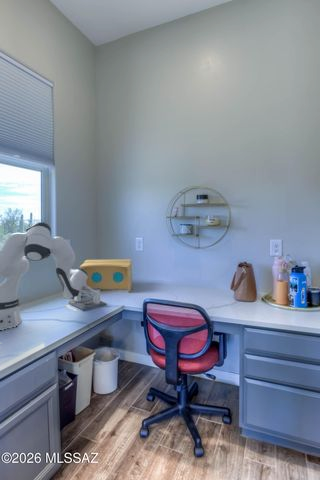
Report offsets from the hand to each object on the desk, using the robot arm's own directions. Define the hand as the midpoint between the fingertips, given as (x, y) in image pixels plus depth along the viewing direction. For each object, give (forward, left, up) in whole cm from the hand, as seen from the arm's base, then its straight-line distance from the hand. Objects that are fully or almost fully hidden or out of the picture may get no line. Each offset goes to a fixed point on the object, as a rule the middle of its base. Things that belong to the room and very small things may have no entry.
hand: (93, 296), depth 189 cm
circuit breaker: (+5, +30, -7) cm, 31 cm away
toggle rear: (-2, +14, -5) cm, 16 cm away
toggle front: (+3, -1, -5) cm, 6 cm away
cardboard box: (+37, +26, -7) cm, 46 cm away
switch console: (-2, +7, -7) cm, 10 cm away
